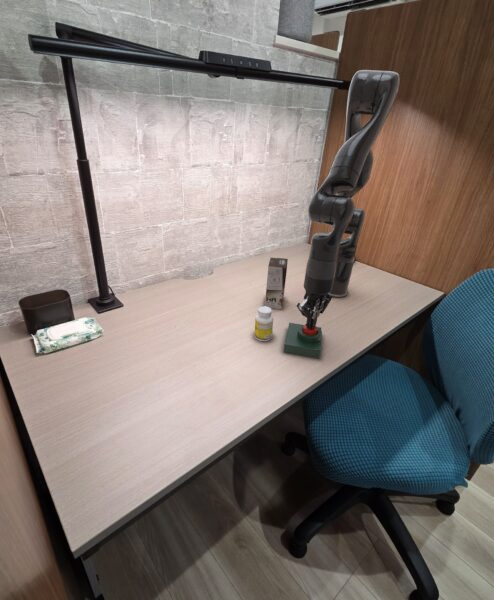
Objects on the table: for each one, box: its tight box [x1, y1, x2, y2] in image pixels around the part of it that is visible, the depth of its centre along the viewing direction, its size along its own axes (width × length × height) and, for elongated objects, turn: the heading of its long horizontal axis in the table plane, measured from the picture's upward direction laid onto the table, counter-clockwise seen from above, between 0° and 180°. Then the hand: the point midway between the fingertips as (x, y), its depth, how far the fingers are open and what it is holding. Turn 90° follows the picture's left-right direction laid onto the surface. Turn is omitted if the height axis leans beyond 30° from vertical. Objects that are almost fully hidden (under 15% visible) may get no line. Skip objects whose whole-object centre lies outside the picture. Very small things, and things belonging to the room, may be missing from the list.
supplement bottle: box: [254, 305, 274, 342], centre depth 95 cm, size 5×5×10 cm
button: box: [303, 323, 318, 335], centre depth 92 cm, size 4×4×2 cm
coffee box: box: [264, 257, 289, 310], centre depth 113 cm, size 9×6×16 cm
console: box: [283, 322, 323, 360], centre depth 94 cm, size 12×10×5 cm
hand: (310, 327), depth 92 cm, fingers closed
